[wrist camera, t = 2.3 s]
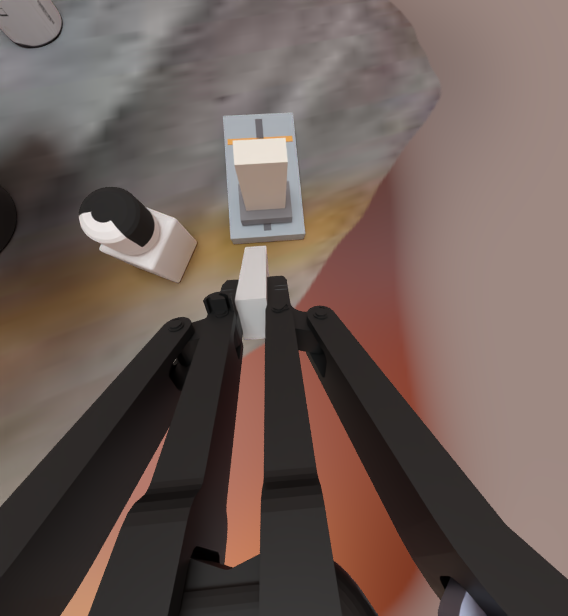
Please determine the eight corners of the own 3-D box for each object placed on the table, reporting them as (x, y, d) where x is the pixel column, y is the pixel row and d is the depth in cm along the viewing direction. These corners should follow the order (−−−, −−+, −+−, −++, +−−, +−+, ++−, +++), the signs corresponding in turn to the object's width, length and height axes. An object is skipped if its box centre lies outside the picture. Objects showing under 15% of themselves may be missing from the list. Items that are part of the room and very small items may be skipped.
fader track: (233, 244, 36) (230, 238, 34) (225, 127, 38) (222, 115, 36) (303, 239, 36) (305, 233, 34) (291, 123, 38) (292, 111, 36)
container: (156, 226, 36) (87, 166, 23) (198, 242, 36) (153, 191, 23) (136, 267, 35) (52, 230, 22) (179, 283, 35) (121, 256, 22)
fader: (242, 225, 34) (225, 178, 23) (239, 190, 34) (222, 129, 24) (291, 221, 34) (297, 173, 23) (288, 187, 35) (293, 125, 24)
